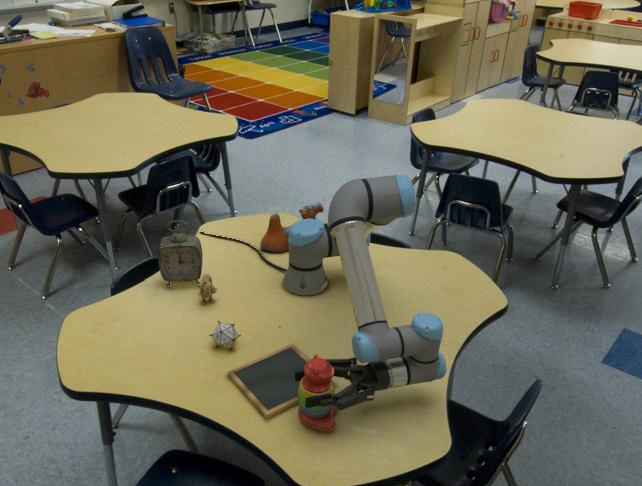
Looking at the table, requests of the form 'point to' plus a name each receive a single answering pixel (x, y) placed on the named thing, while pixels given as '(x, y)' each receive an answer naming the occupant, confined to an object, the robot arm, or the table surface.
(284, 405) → the chalkboard
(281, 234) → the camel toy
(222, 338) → the game die
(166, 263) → the tabletop clock
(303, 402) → the stacking bear
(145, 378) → the table surface
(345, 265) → the robot arm
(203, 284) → the lion figurine
